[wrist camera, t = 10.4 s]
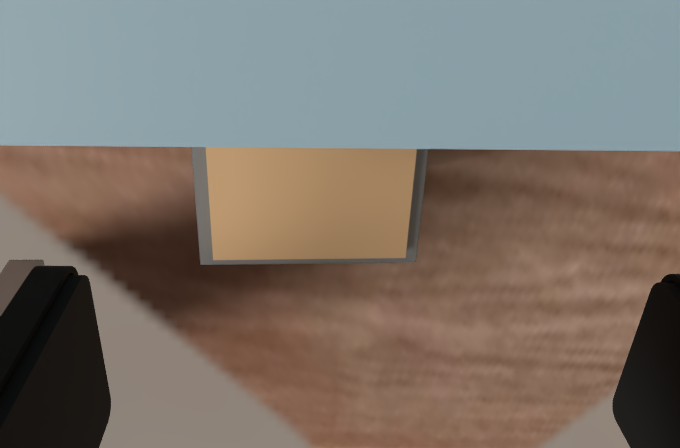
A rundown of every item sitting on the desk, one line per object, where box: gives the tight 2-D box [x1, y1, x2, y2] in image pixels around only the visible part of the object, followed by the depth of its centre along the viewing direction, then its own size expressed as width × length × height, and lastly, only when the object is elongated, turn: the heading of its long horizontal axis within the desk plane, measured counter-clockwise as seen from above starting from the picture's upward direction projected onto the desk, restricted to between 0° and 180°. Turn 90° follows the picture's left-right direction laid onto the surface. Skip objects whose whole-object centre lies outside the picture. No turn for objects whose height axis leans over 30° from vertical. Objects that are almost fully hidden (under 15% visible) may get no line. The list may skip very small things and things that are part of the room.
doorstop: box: [191, 147, 429, 265], centre depth 19 cm, size 6×5×6 cm
